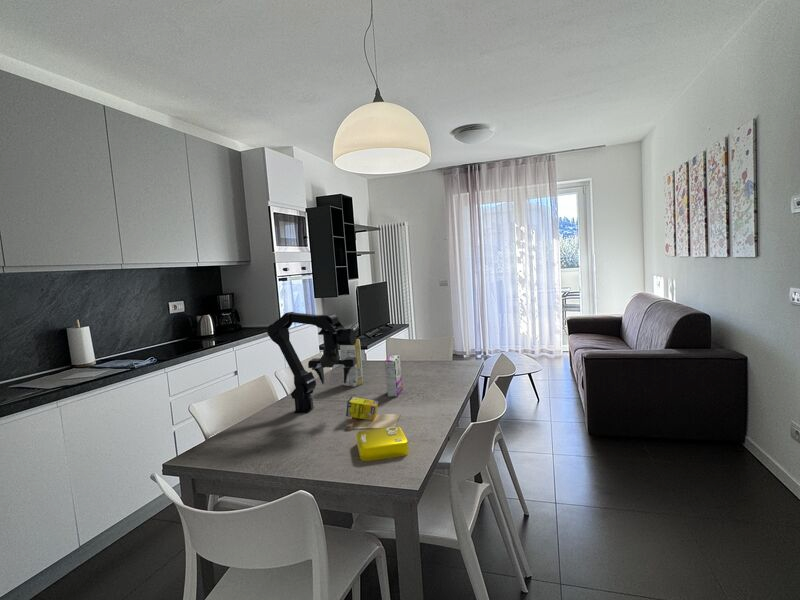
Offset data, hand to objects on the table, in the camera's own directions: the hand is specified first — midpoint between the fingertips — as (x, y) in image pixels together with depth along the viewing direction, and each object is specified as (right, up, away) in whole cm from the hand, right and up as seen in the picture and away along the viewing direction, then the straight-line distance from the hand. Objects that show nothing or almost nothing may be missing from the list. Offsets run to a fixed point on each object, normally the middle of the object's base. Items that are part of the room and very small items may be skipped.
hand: (334, 383), depth 175 cm
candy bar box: (+24, -9, +22) cm, 34 cm away
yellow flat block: (+21, -14, -37) cm, 45 cm away
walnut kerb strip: (+9, -12, -12) cm, 19 cm away
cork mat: (+18, -12, -13) cm, 25 cm away
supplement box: (+7, -7, -9) cm, 13 cm away
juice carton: (+3, -9, +42) cm, 43 cm away
